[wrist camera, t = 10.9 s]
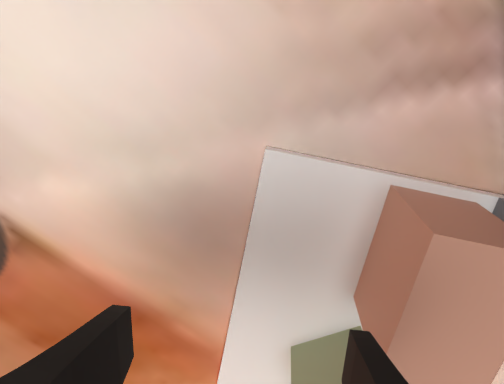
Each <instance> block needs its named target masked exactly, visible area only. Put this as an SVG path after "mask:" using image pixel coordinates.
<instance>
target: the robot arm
mask: <svg viewBox="0 0 504 384" xmlns="http://www.w3.org/2000/svg"><path fill="white" fill-rule="evenodd" d="M133 357H134V352H133V338H132V323H131V308H130V307H129V306H119V305H112V306H110V307H109V308H107V309H106V310H104V311H103V312H101V313H100V314H99V315H97V316H96V317H94V318H93V319H91V320H90V321H89V322H87V323H86V324H84V325H83V326H82V327H80V328H79V329H77V330H76V331H74V332H73V333H71V334H70V335H69V336H67V337H66V338H64V339H63V340H61V341H60V342H58V343H57V344H55V345H54V346H52V347H51V348H49V349H47V350H46V351H44V352H43V353H41V354H40V355H38V356H36V357H35V358H33V359H32V360H30V361H28V362H27V363H25V364H24V365H22V366H20V367H18V368H17V369H15V370H13V371H11V372H10V373H8V374H6V375H4V376H2V377H1V378H0V384H123V382H124V380H125V377H126V375H127V372H128V370H129V367H130V365H131V362H132V359H133ZM341 380H342V384H409V383H408V382H407V381H406V379H405V378H404V377H403V376H402V374H401V373H400V372H399V371H398V369H397V368H396V367H395V365H394V364H393V363H392V361H391V360H390V359H389V357H388V356H387V355H386V353H385V352H384V351H383V349H382V348H381V346H380V345H379V344H378V342H377V341H376V339H375V338H374V337H373V335H372V334H371V333H370V332H369V331H362V330H352V329H350V331H349V337H348V343H347V349H346V355H345V361H344V367H343V373H342V379H341Z"/></svg>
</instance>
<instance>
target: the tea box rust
mask: <svg viewBox="0 0 504 384" xmlns="http://www.w3.org/2000/svg"><path fill="white" fill-rule="evenodd" d="M353 297H354V301H355V304H356V308H357V311H358V315H359V318H360V322H361V325H362V329H363V331H369V332H370V333H371V334H372V335H373V337H374V338H375V339H376V341H377V342H378V344H379V345H380V346H381V348H382V349H383V351H384V352H385V353H386V355H387V356H388V357H389V359H390V360H391V361H392V363H393V364H394V365H395V367H396V368H397V369H398V371H399V372H400V373H401V374H402V376H403V377H404V378H405V379H406V381H407V382H408V383H409V384H491V383H492V382H493V380H494V378H495V376H496V374H497V372H498V370H499V368H500V367H501V365H502V363H503V361H504V221H502V220H501V219H499V218H498V217H496V216H495V215H494V214H492V213H491V212H489V211H488V210H487V209H485V208H484V207H482V206H481V205H480V204H478V203H476V202H472V201H467V200H462V199H457V198H452V197H448V196H443V195H438V194H433V193H428V192H424V191H419V190H414V189H409V188H404V187H400V186H395V185H390V188H389V191H388V194H387V197H386V200H385V203H384V206H383V209H382V212H381V215H380V218H379V221H378V224H377V227H376V230H375V233H374V236H373V239H372V242H371V245H370V248H369V251H368V254H367V257H366V260H365V263H364V266H363V269H362V272H361V275H360V278H359V281H358V284H357V287H356V290H355V293H354V296H353Z"/></svg>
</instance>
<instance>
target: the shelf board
mask: <svg viewBox="0 0 504 384" xmlns="http://www.w3.org/2000/svg"><path fill="white" fill-rule="evenodd" d="M390 185H395V186H400V187H404V188H409V189H414V190H419V191H424V192H428V193H433V194H438V195H443V196H448V197H452V198H457V199H462V200H467V201H472V202H476V203H478V204H480V205H481V206H482V207H484V208H485V209H487V210H488V211H489V212H491V213H492V214H494V215H495V216H496V217H498V218H499V219H501V220H502V221H504V195H501V194H496V193H491V192H486V191H481V190H477V189H472V188H467V187H462V186H457V185H452V184H448V183H443V182H438V181H433V180H428V179H424V178H419V177H414V176H409V175H404V174H399V173H395V172H390V171H385V170H380V169H375V168H370V167H366V166H361V165H356V164H351V163H346V162H342V161H337V160H332V159H327V158H322V157H317V156H313V155H308V154H303V153H298V152H293V151H288V150H284V149H279V148H274V147H269V146H266V148H265V153H264V158H263V163H262V168H261V173H260V178H259V182H258V187H257V192H256V197H255V202H254V207H253V212H252V216H251V221H250V226H249V231H248V236H247V241H246V246H245V251H244V255H243V260H242V265H241V270H240V275H239V280H238V285H237V289H236V294H235V299H234V304H233V309H232V314H231V319H230V324H229V328H228V333H227V338H226V343H225V348H224V353H223V358H222V362H221V367H220V372H219V377H218V382H217V384H291V346H294V345H298V344H301V343H304V342H308V341H311V340H314V339H318V338H321V337H324V336H327V335H331V334H334V333H337V332H341V331H344V330H347V329H351V328H354V327H357V326H361V328H362V325H361V322H360V318H359V315H358V311H357V308H356V304H355V301H354V297H353V296H354V293H355V290H356V287H357V284H358V281H359V278H360V275H361V272H362V269H363V266H364V263H365V260H366V257H367V254H368V251H369V248H370V245H371V242H372V239H373V236H374V233H375V230H376V227H377V224H378V221H379V218H380V215H381V212H382V209H383V206H384V203H385V200H386V197H387V194H388V191H389V188H390ZM362 330H363V329H362Z"/></svg>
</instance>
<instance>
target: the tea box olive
mask: <svg viewBox="0 0 504 384" xmlns="http://www.w3.org/2000/svg"><path fill="white" fill-rule="evenodd" d="M351 329H352V330H362V328H361V326H357V327H354V328H351ZM349 331H350V329H347V330H344V331H341V332H337V333H334V334H331V335H327V336H324V337H321V338H318V339H314V340H311V341H308V342H304V343H301V344H298V345H294V346H291V384H342V380H341V379H342V373H343V367H344V361H345V355H346V349H347V343H348V337H349ZM362 331H363V330H362Z"/></svg>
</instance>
